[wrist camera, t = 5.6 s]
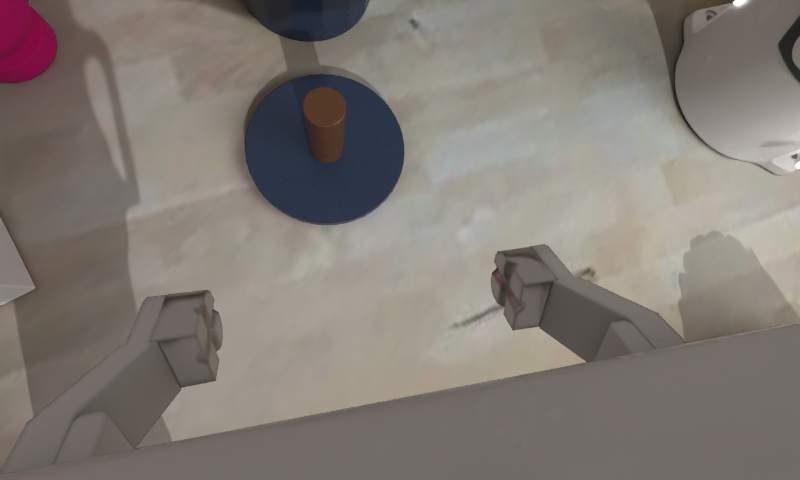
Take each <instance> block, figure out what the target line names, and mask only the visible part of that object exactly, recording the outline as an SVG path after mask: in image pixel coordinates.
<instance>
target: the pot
mask: <svg viewBox="0 0 800 480" xmlns="http://www.w3.org/2000/svg"><path fill="white" fill-rule="evenodd" d="M243 1H244V3H245V5H246V7H247V8H248V10H249V11H250V13H251V14H252V15H253V16H254V17H255V18H256V19H257V20H258V21H259V22H260V23H261V24H262V25H264V26H265V27H266V28H268V29H269V30H271V31H273V32H275V33H276V34H279V35H281V36H284V37H287V38H290V39H294V40H299V41H322V40H327V39H331V38H334V37H337V36H339V35H341V34H343V33H345V32H346V31H348V30H349V29H351V28H352V27H353V26H354V25H355V24H356V23H357V22H358V21H359V20H360V19H361V17H362V16H363V14H364V12H365V10H366V8H367V6H368V3H369V0H243Z"/></svg>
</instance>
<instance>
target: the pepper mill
mask: <svg viewBox="0 0 800 480" xmlns="http://www.w3.org/2000/svg"><path fill="white" fill-rule="evenodd" d="M56 49H57V43H56V36H55V34H54V31H53V29H52V28H51V26H50V25H49V24H48V23H47V22H46V21H45V20H44V19H43V18H42V17H41V16H40V15H39V14H38V13H37V12H36V11H35V10H34V9H33V8H32V7H31V6H29V3H28V0H0V82H5V83H14V82H22V81H26V80H29V79H32V78H34V77H35V76H37V75H39V74H41V73H42V72H44V71H45V70H46V69H47V68H48V67H49V65H50V64H51V62H52V61H53V59H54V57H55V53H56Z"/></svg>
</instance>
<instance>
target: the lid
mask: <svg viewBox="0 0 800 480" xmlns="http://www.w3.org/2000/svg"><path fill="white" fill-rule="evenodd" d="M245 153H246V161H247V165H248V168H249V172H250V174H251V176H252V178H253V181H254V182H255V184H256V186H257V187H258V189H259V190H260V192H261V193H262V194H263V195H264V197H265V198H266V199H267V200H268V201H269V202H270V203H271V204H272V205H273V206H275V207H276V208H277V209H279V210H280V211H281V212H283V213H285V214H287V215H288V216H290V217H292V218H295V219H297V220H300V221H303V222H307V223H311V224H318V225H337V224H344V223H348V222H351V221H354V220H357V219H359V218H362V217H364V216H366V215H367V214H369V213H371V212H372V211H374V210H375V209H376V208H377V207H379V206H380V205H381V204H382V203H383V202H384V201H385V200H386V199H387V198H388V196H389V195H390V194H391V192H392V191H393V189H394V187H395V185H396V184H397V182H398V179H399V177H400V174H401V171H402V167H403V162H404V142H403V136H402V132H401V129H400V126H399V124H398V122H397V119H396V117H395V116H394V114H393V112H392V111H391V109H390V108H389V107H388V105H387V104H386V103H385V102H384V101H383V100H382V99H381V98H380V97H379V96H378V95H377V94H376V93H374V92H373V91H372V90H370V89H369V88H367V87H366V86H364V85H362V84H360V83H358V82H356V81H353V80H351V79H348V78H344V77H341V76H335V75H323V74H320V75H309V76H304V77H300V78H297V79H294V80H291V81H289V82H287V83H285V84H283V85H281V86H279V87H278V88H276V89H275V90H273V91H272V92H271V93H270V94H269V95H268V96H266V98H265V99H264V100H263V101H262V102H261V103H260V104H259V106H258V107H257V109H256V110H255V112H254V114H253V116H252V118H251V120H250V123H249V126H248V129H247V134H246V140H245Z"/></svg>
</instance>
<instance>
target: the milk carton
mask: <svg viewBox="0 0 800 480" xmlns="http://www.w3.org/2000/svg"><path fill="white" fill-rule="evenodd" d="M34 289H35V285H34V283H33V281H32V279H31V277H30V275H29V273H28V271H27V269H26V267H25V265H24V263H23V261H22V259H21V257H20V255H19V253H18V251H17V249H16V247H15V245H14V243H13V241H12V239H11V237H10V235H9V233H8V231H7V229H6V227H5V225H4V223H3V221H2V219H1V217H0V306H1V305H3V304H5V303H7V302H9V301H11V300H13V299H16V298H18V297H20V296H22V295H24V294H26V293H28V292H30V291H32V290H34Z"/></svg>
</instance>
